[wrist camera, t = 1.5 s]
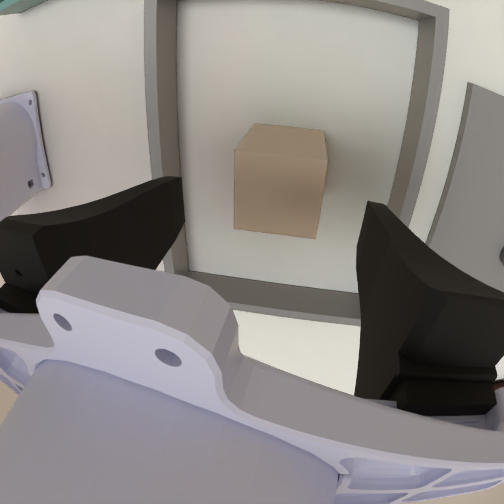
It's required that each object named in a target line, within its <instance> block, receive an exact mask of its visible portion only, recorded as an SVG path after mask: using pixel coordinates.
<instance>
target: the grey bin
mask: <svg viewBox="0 0 504 504" xmlns="http://www.w3.org/2000/svg"><path fill="white" fill-rule="evenodd" d="M322 1H330V2H337V3H344V4H350V5H356V6H361V7H366V8H371V9H376V10H381V11H385V12H389V13H393V14H397V15H401V16H405V17H409V18H412V19H416V20H419V30H418V41H417V52H416V61H415V69H414V77H413V84H412V91H411V98H410V104H409V110H408V116H407V122H406V127H405V132H404V138H403V143H402V148H401V152H400V157H399V162H398V166H397V171H396V175H395V179H394V184H393V188H392V192H391V196H390V200H389V204H388V208H389V209H390V210H391V211H392V212H393V213H394V214H395V215H396V216H397V217H398V218H399V219H400V220H401V221H402V222H403V223H404V224H405V225H406V226H407V227H409V223H410V220H411V217H412V214H413V210H414V207H415V204H416V200H417V197H418V193H419V190H420V186H421V182H422V178H423V175H424V171H425V167H426V163H427V159H428V154H429V150H430V146H431V141H432V137H433V132H434V127H435V122H436V117H437V112H438V106H439V100H440V94H441V88H442V81H443V74H444V67H445V58H446V49H447V39H448V26H449V9H448V8H445V7H442V6H439V5H436V4H433V3H430V2H427V1H424V0H322ZM176 20H177V0H144V69H145V94H146V112H147V127H148V140H149V151H150V162H151V172H152V180H154V179H157V178H160V177H164V176H175V177H181V175H180V159H179V141H178V118H177V82H176ZM163 262H164V268H165V272H167V273H172V274H177V275H182V276H186V277H188V278H190V279H193V280H195V281H198V282H200V283H203V284H206V285H208V286H210V287H211V288H212V289H213V290H214V291H215V292H217V293H218V294H219V295H220V296H221V297H222V298H223V299H224V300H225V301H226V302H228V303H229V304H230V305H231V307H232V309H233V310H239V311H246V312H252V313H259V314H266V315H273V316H280V317H288V318H295V319H303V320H311V321H319V322H328V323H336V324H345V325H355V326H361V313H360V302H359V294H356V293H348V292H340V291H331V290H323V289H316V288H308V287H300V286H292V285H285V284H278V283H270V282H263V281H256V280H249V279H242V278H235V277H228V276H221V275H214V274H207V273H201V272H194V271H189V267H188V257H187V247H186V237H185V226H184V225H183V227H182V229H181V231H180V233H179V235H178V237H177V239H176V241H175V242H174V244H173V245H172V246H171V248H170V249H169V251H168V252H167V254H166V255H165V257H164V258H163Z"/></svg>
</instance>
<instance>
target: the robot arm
mask: <svg viewBox="0 0 504 504" xmlns="http://www.w3.org/2000/svg"><path fill="white" fill-rule="evenodd" d="M44 173H45V174H44ZM50 187H51V180H50V175H49V171H48V166H47V161H46V156H45V151H44V146H43V140H42V134H41V128H40V122H39V115H38V107H37V99H36V93H35V92H34V91H30V92H26V93H23V94H19V95H15V96H12V97H9V98H5V99H2V100H0V273H1V275H2V277H3V279H4V281H5V282H6V283H5V284H4V285H3V286H2V287H1V288H0V381H2V382H3V383H4V384H5V385H7V386H8V387H9V388H10V389H12V390H13V391H14V392H16V393H17V394H18V395H19V396H18V398H17V399H16V401H15V402H14V404H13V406H12V407H11V409H10V411H9V412H8V414H7V415H6V417H5V419H4V421H3V422H2V424H1V426H0V504H401V503H409V502H417V501H424V500H431V499H438V498H444V497H450V496H455V495H461V494H466V493H471V492H476V491H481V490H486V489H490V488H492V487H494V486H496V485H498V484H500V483H502V482H504V387H501V388H499V389H497V390H495V391H494V386H493V382H492V381H494V380H495V379H496V378H497V372H496V368H495V365H496V364H497V363H498V362H499V361H500V359H501V358H502V357H503V356H504V292H502V291H500V290H497V289H495V288H493V287H491V286H488V285H486V284H484V283H483V282H481V281H479V280H477V279H475V278H473V277H472V276H470V275H468V274H466V273H465V272H463V271H461V270H460V269H458V268H457V267H455V266H454V265H452V264H451V263H449V262H448V261H446V260H445V259H444V258H442V257H441V256H440V255H438V254H437V253H436V252H435V251H433V250H432V249H431V248H429V247H428V246H427V245H426V244H425V243H424V242H423V241H421V240H420V239H419V238H418V237H417V236H416V235H415V234H414V233H413V232H412V231H411V230H410V229H409V228H408V227H407V226H406V225H405V224H404V223H403V222H402V221H401V220H400V219H399V218H398V217H397V216H396V215H395V214H394V213H393V212H392V211H391V210H390V209H389V208H388V207H387V206H385V205H384V204H381V203H376V202H370V201H367V206H366V210H365V215H364V219H363V223H362V228H361V232H360V236H359V240H358V244H357V255H356V271H357V281H358V291H359V302H360V313H361V332H360V349H359V360H358V370H357V378H356V386H355V393H354V396H353V395H350V394H347V393H344V392H341V391H338V390H335V389H332V388H329V387H326V386H323V385H321V384H318V383H315V382H312V381H309V380H307V379H304V378H301V377H298V376H296V375H293V374H290V373H288V372H285V371H283V370H280V369H277V368H275V367H272V366H270V365H267V364H265V363H262V362H260V361H257V360H255V359H252V358H250V357H247V356H245V355H243V354H242V353H241V352H240V349H239V344H238V323H237V321H236V318H235V315H234V312H233V310H232V307H231V305H230V304H229V303H228V302H226V301H225V300H224V299H223V298H222V297H221V296H220V295H219V294H218V293H217V292H215V291H214V290H213V289H212V288H211V287H210V286H208V285H206V284H203V283H200V282H198V281H195V280H193V279H190V278H188V277H186V276H182V275H177V274H172V273H167V272H162V271H157V270H155V269H156V268H157V267H158V265H159V264H160V262H161V261H162V259H163V258H164V257H165V255H166V254H167V252H168V251H169V249H170V248H171V246H172V245H173V244H174V242H175V241H176V239H177V237H178V235H179V233H180V231H181V229H182V227H183V225H184V223H185V215H184V204H183V192H182V179H181V177H175V176H164V177H160V178H157V179H154V180H151V181H148V182H145V183H143V184H140V185H137V186H135V187H132V188H130V189H127V190H124V191H122V192H119V193H116V194H113V195H111V196H108V197H105V198H102V199H99V200H96V201H93V202H89V203H86V204H83V205H79V206H74V207H70V208H66V209H61V210H56V211H51V212H44V213H38V214H28V215H17V216H9V215H10V214H12V213H13V212H14V211H15V210H16V209H18V208H19V207H20V206H21V205H23V204H24V203H25V202H26V201H28V200H29V199H30V198H32V197H33V196H34V195H35V194H37V193H38V192H39V191H41V190H42V189H49V188H50Z"/></svg>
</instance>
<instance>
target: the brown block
mask: <svg viewBox="0 0 504 504" xmlns="http://www.w3.org/2000/svg"><path fill="white" fill-rule="evenodd" d="M327 164H328V157H327V150H326V142H325V136H324V131H321V130H314V129H306V128H297V127H288V126H278V125H267V124H254V125H253V126H252V128H251V129H250V130H249V132H248V133H247V134H246V136H245V137H244V138H243V140H242V141H241V142H240V144H239V145H238V146H237V148H236V149H235V151H234V229H239V230H247V231H255V232H263V233H271V234H279V235H287V236H295V237H302V238H310V239H316V234H317V229H318V223H319V217H320V210H321V204H322V198H323V191H324V185H325V178H326V171H327Z"/></svg>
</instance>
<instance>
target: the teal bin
mask: <svg viewBox="0 0 504 504" xmlns="http://www.w3.org/2000/svg"><path fill="white" fill-rule="evenodd" d="M44 1H47V0H0V15H7V14H15V13H21V12H23V11H25V10H27V9H29V8H31V7H33V6H36V5H38V4H40V3H42V2H44Z"/></svg>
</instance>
